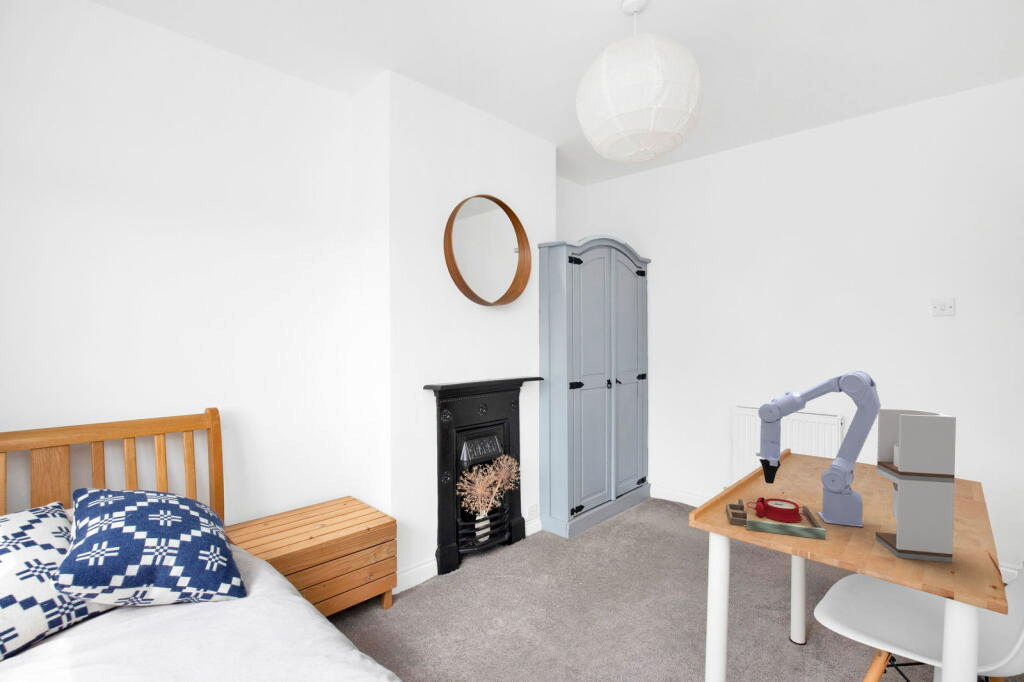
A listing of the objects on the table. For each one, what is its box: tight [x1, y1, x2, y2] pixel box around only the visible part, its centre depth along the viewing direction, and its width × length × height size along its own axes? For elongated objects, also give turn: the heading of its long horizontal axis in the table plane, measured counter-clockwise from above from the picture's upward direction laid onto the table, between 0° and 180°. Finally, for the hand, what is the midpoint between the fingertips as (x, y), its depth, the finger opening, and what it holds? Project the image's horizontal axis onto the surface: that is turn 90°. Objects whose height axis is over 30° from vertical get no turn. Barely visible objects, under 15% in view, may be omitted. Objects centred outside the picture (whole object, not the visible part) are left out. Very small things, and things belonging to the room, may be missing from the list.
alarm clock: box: [746, 496, 805, 524], centre depth 147 cm, size 10×6×15 cm
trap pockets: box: [725, 502, 746, 526], centre depth 146 cm, size 4×13×2 cm, turn 161°
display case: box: [875, 408, 957, 563], centre depth 124 cm, size 11×11×35 cm
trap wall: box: [737, 498, 827, 540], centre depth 143 cm, size 19×21×2 cm
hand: (769, 482), depth 157 cm, fingers closed
